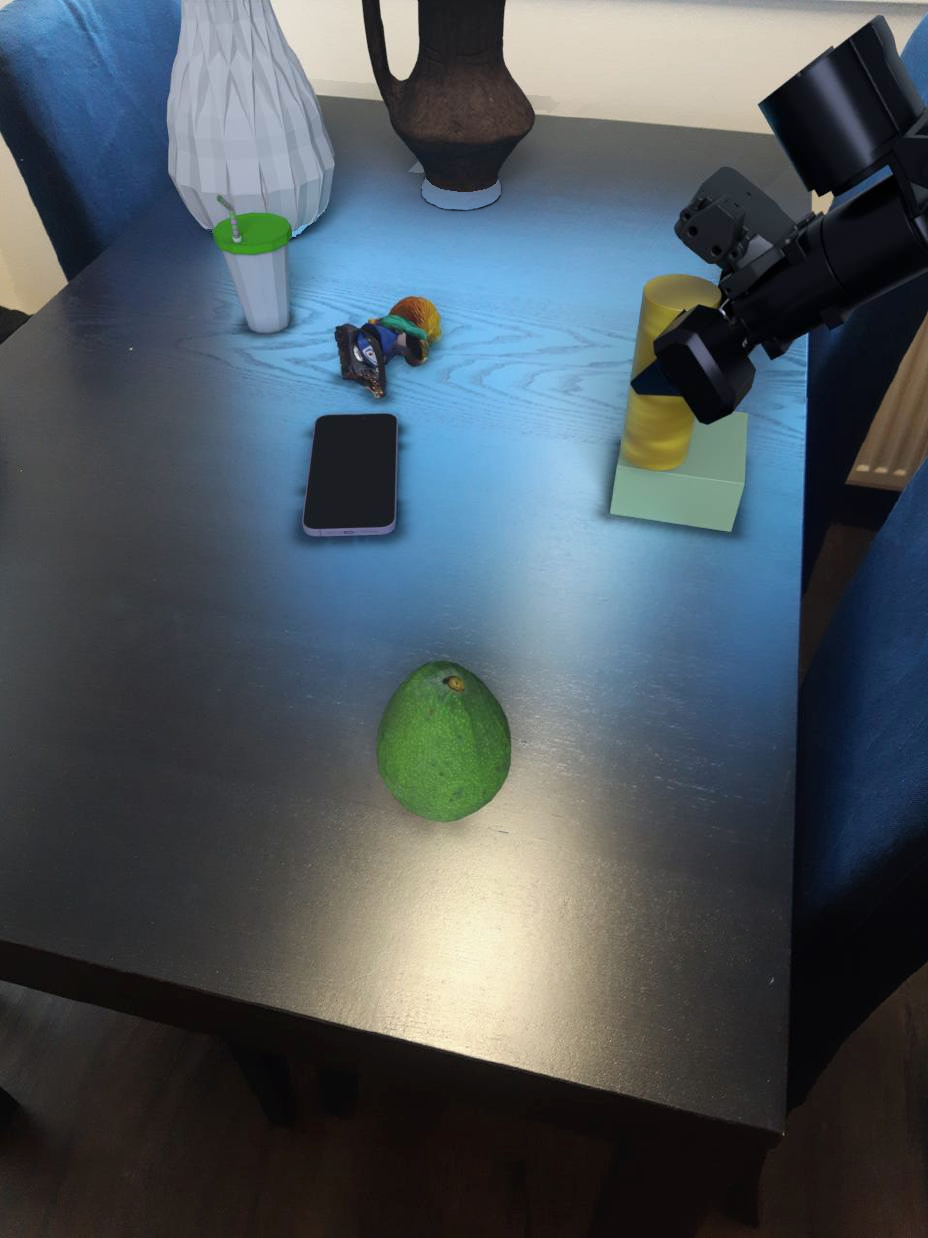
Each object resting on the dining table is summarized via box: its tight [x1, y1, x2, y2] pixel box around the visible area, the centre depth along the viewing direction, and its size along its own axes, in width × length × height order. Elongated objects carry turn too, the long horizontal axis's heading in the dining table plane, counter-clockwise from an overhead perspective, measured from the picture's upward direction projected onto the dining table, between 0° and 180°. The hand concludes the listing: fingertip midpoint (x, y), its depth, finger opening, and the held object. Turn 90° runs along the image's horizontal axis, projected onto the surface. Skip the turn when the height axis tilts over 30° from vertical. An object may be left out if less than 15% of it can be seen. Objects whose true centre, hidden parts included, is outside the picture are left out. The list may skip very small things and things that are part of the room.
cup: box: [211, 195, 292, 335], centre depth 91 cm, size 8×8×15 cm
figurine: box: [333, 295, 443, 399], centre depth 88 cm, size 11×8×6 cm, turn 128°
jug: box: [361, 0, 536, 192], centre depth 109 cm, size 21×18×30 cm
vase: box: [166, 0, 336, 232], centre depth 102 cm, size 20×20×30 cm
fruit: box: [375, 660, 512, 823], centre depth 51 cm, size 8×8×12 cm
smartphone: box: [301, 412, 399, 537], centre depth 77 cm, size 8×1×16 cm
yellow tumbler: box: [619, 273, 722, 471], centre depth 64 cm, size 5×5×13 cm
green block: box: [609, 410, 749, 533], centre depth 75 cm, size 10×10×5 cm
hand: (650, 370), depth 64 cm, fingers closed on yellow tumbler, 5 cm apart
